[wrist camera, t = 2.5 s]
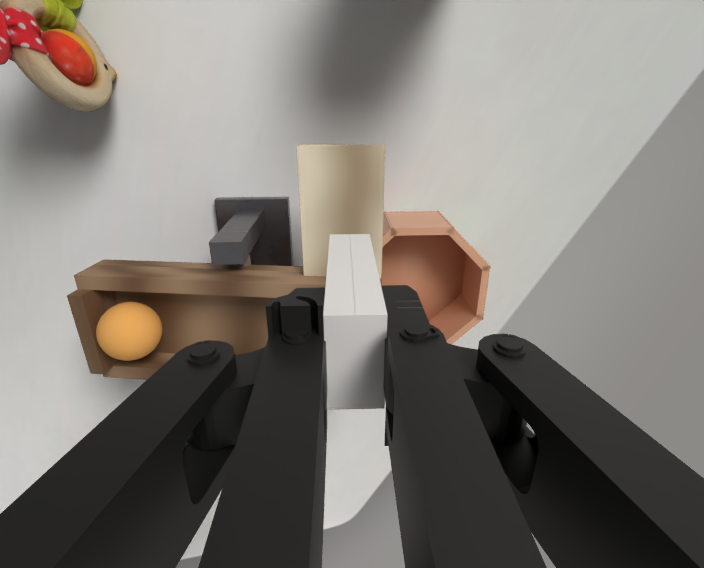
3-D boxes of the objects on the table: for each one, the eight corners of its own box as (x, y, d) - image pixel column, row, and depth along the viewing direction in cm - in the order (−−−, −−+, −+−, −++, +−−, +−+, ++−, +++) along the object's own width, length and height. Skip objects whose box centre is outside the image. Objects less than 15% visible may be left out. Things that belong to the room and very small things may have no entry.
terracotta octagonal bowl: (321, 273, 38) (319, 296, 33) (413, 183, 35) (424, 195, 30) (404, 346, 41) (412, 376, 37) (494, 270, 38) (515, 293, 34)
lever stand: (236, 341, 41) (206, 410, 31) (217, 197, 35) (174, 231, 26) (298, 339, 41) (286, 408, 32) (288, 196, 35) (271, 229, 26)
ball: (116, 313, 31) (71, 341, 27) (141, 281, 29) (97, 306, 26) (157, 350, 31) (118, 382, 28) (184, 321, 30) (146, 351, 26)
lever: (146, 342, 36) (96, 390, 30) (99, 139, 29) (21, 148, 23) (380, 356, 34) (376, 410, 28) (386, 140, 27) (382, 151, 21)
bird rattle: (154, 55, 33) (49, -86, 26) (130, 114, 25) (-26, -64, 18) (90, 93, 34) (-26, -33, 27) (48, 162, 26) (-127, 8, 19)
